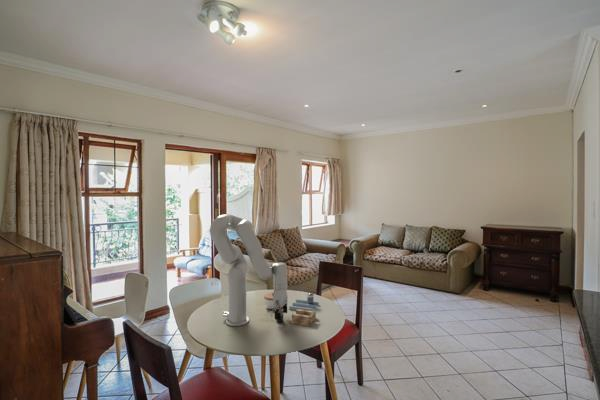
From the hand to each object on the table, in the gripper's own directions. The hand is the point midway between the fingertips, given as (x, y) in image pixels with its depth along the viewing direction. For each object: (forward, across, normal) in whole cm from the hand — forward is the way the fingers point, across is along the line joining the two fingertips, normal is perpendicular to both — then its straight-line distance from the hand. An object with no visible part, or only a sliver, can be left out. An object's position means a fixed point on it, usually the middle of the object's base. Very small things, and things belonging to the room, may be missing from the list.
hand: (281, 316), depth 164 cm
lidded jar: (+3, -17, -13) cm, 21 cm away
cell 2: (+3, -25, +9) cm, 26 cm away
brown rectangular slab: (+1, -5, +11) cm, 12 cm away
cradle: (+3, -5, +11) cm, 13 cm away
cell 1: (+3, 0, -1) cm, 3 cm away
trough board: (+3, -22, +6) cm, 23 cm away
